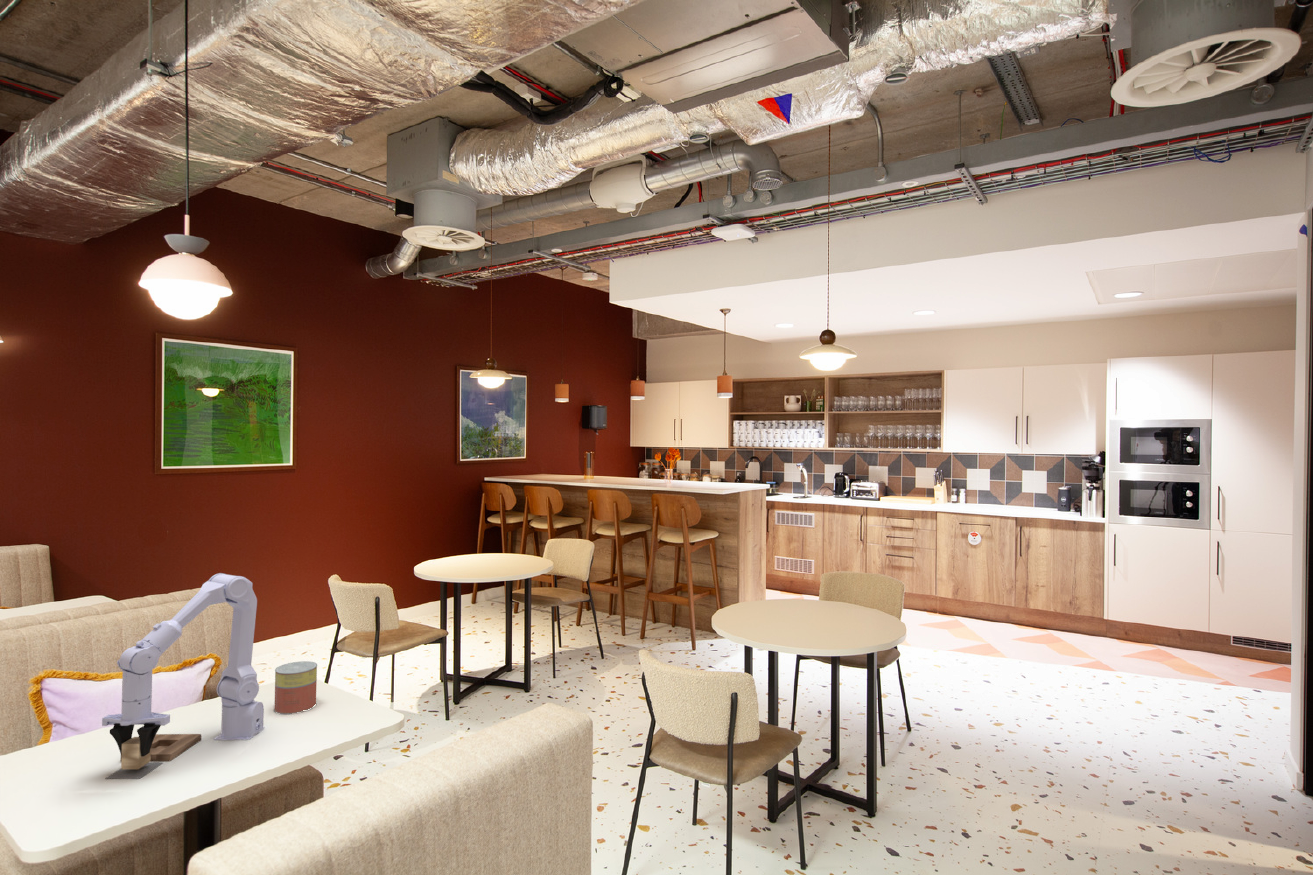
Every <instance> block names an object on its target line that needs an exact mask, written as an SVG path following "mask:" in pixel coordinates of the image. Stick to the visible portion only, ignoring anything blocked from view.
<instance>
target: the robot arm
mask: <svg viewBox="0 0 1313 875" xmlns="http://www.w3.org/2000/svg"><path fill="white" fill-rule="evenodd" d="M253 584H254V583H253V582H252V581H250V579H248V578H246V577H245V576H241V575H234V574H233V575H232V574H227V573H222V572H219V573H216V574H214V575H212V576H211V577H210V578H209V579H208V580H207V581H205V582H203V583H202V586H201V587H200V589H199V590H198V592H197V593H196V594H195V595H194V596H193V597H192V598H190V600H188V601H187V603H186V604H185V605H184V606H183V607H182V608H181V609H180V610H179V611H178V612H177V613H176V614H175V615H174V616H173V617H172V618H171V619H169V620H162V621H161V622H160V623H159V622H158V623H155V624H154V625H153V626H152V629H151V631H150V632H148V634H146V635H145V636H144V637H143V638H142V639H141V640H138V641H136V643H135V646H134V645H133V646H132V647H128V648H126V649H125V650H124V651H123V652H122V653H121V654H120V657H119V659H118V660H116V664H117V667H118V668H119V669H120V670H121V671H122V678H121V679H122V680H121V683H122V685H121V690H122V691H121V713H117V714H116V713H115V714H108V715H106V716H103V717H102V718H101V726H102V727H107V726H109V725H111V726H113V727H112V728H110V729H109V734H110V736H112V738H113V739H114V741H115V742H116V744H117V747H118V750H119V752H120V753H119V754H120V758H121V757H122V744H123V743H124V742H126V741H128V740H129V739H131V738H133V732H134V728H135V725H137V726H139V725H142V726H141V727H139V728H137V729H136V732H137V734H138V737H139V739H140V754H141V756H145V755H147V754H149V753H150V749H151V746H152V743H153V740H154V737H155V735H156V734H158V731H159V730H160V728H161V727H163V726H164V727H165V726H166V725H168V724H169V723H170V722H171V714H167V713H165V714H164V713H159V712H152V704H153V703H152V702H153V699H152V698H153V690H152V689H153V670H154V669H155V668H156V667H157V665H158V663H159V659H160V657H161V656H162V655H163V654H164V653H165V652H166V651H167V650H168V649H169V648H170V647H171V646H172V645H173V644H174V643H175V642H177V640H179V638H180V637H182V636H183V635H182V633H183V628H184V627H186V626H187V625H188V624H189V623H190V622H191V621H193V620H194V619H195V618H196V617H197V616H199V615H200V614H201V613H202V612H203V611H204V610H206V609H207V608H208V607H210V606H212V605H218V604H223V603H227V604H228V605H229V606H230V607H232V608H233V609H232V611H233V612H232V619H231V620H232V621H231V632H230V641H229V642H230V643H229V650H228V651H229V652H228V660H227V666H226V667H225V669H223V671H221V676H220V680H219V682H218V683H217V686H216V693H217V696H218V697H219V698H220V699H221V721H220V722H221V727H220V728H221V730H220V731H221V732H220V734H219V735H217V736H215V737H214V738H213V741H248V740H251V739H253V738H254V737H255V736H256V735H258V734H259V733H260V732H262V731H263V730H264V729H265V728H266V727H265V726H264V718H265V717H264V716H265V715H264V714H265V713H264V712H265V711H264V710H265V708H264V704H263V702H262V701H256V700H255V698H257V696H258V694H259V691H260V685H259V682H258V674H257V671H256V670H255V669H254V667H253V666H252V660H253V652H254V651H253V649H254V640H255V639H254V637H255V629H256V619H257V618H256V616H257V609H258V608H257V607H258V598H257V596H256V594H255V592H254V590H253V589H254V588H253Z"/></svg>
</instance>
